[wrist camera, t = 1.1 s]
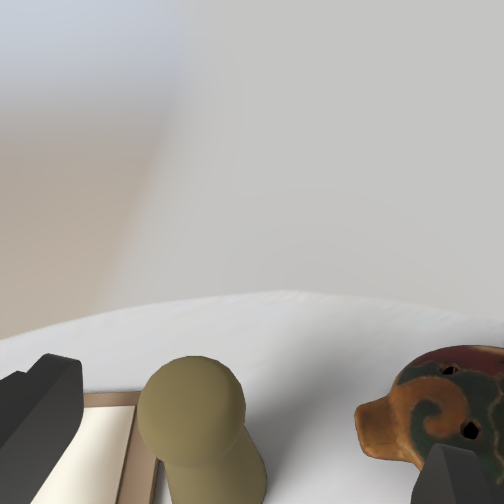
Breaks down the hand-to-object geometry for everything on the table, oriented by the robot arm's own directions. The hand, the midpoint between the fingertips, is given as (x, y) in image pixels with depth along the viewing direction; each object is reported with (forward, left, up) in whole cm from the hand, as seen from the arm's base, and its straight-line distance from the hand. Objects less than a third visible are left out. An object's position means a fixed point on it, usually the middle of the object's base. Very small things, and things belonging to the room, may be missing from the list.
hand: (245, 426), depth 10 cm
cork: (+4, -6, -20) cm, 21 cm away
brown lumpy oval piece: (-12, -7, -20) cm, 24 cm away
